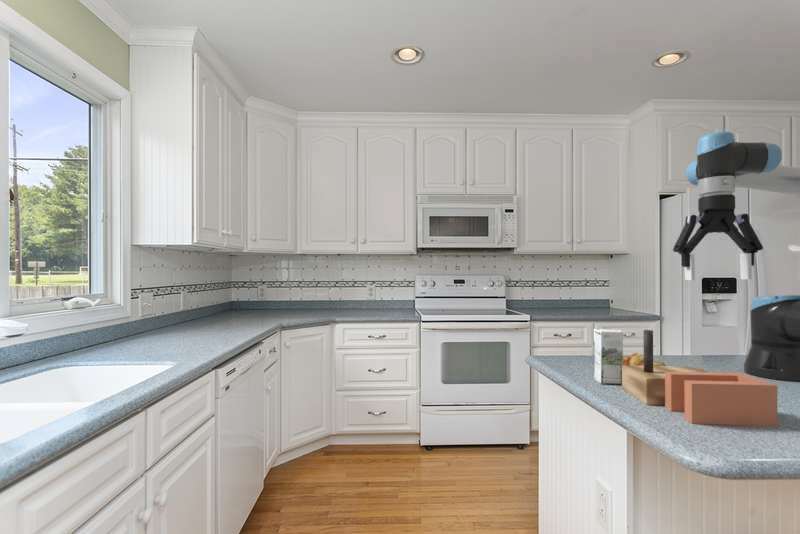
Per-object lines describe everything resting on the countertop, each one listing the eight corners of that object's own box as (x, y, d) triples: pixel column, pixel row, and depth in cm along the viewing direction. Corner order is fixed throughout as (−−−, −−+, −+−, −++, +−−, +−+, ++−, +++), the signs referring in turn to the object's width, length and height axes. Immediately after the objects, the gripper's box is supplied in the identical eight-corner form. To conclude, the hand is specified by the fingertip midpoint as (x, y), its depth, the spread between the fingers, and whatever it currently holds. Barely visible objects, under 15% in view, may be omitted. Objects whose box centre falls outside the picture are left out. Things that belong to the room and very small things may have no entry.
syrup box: (614, 379, 119) (614, 327, 119) (623, 385, 113) (623, 330, 113) (593, 378, 120) (593, 327, 120) (601, 384, 114) (600, 330, 114)
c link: (741, 409, 94) (741, 372, 94) (777, 426, 84) (777, 385, 84) (665, 407, 95) (665, 371, 95) (691, 423, 85) (691, 383, 85)
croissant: (687, 397, 114) (694, 369, 116) (670, 384, 109) (678, 355, 111) (612, 378, 132) (619, 354, 134) (594, 366, 127) (602, 342, 129)
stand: (695, 390, 108) (695, 327, 108) (730, 406, 95) (730, 335, 95) (621, 388, 110) (621, 326, 110) (646, 404, 97) (646, 334, 97)
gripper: (673, 194, 105) (675, 280, 105) (780, 191, 103) (782, 279, 103) (657, 199, 112) (658, 279, 112) (756, 196, 110) (758, 278, 110)
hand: (717, 279), depth 107 cm, fingers open, 13 cm apart
